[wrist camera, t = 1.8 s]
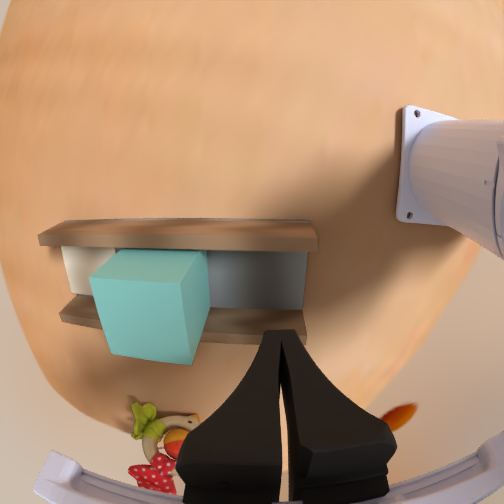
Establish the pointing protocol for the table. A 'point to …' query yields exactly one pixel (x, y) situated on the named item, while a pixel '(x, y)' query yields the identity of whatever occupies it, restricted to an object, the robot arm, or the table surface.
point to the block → (153, 302)
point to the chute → (219, 268)
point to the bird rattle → (151, 434)
